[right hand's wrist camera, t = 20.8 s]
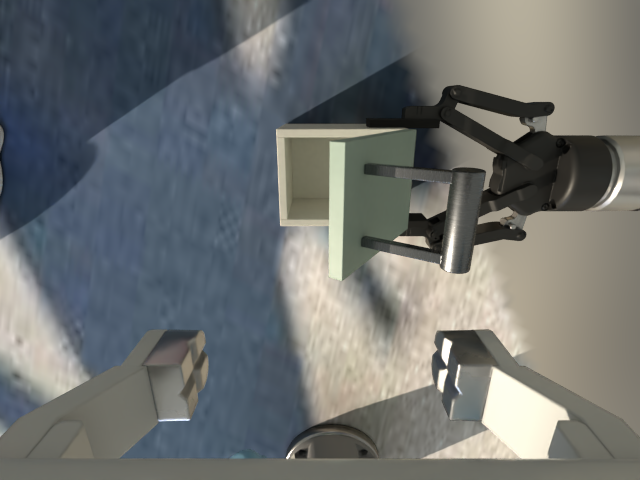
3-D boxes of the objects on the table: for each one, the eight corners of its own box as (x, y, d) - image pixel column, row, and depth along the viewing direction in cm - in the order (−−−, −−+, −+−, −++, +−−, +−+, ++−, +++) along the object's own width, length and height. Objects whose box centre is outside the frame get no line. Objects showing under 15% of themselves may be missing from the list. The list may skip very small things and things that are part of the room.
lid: (328, 277, 25) (454, 313, 20) (329, 141, 21) (480, 149, 17) (396, 226, 35) (490, 244, 30) (404, 129, 32) (511, 132, 27)
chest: (287, 202, 43) (280, 226, 35) (285, 123, 40) (276, 129, 32) (384, 202, 43) (400, 225, 35) (390, 123, 40) (409, 128, 32)
